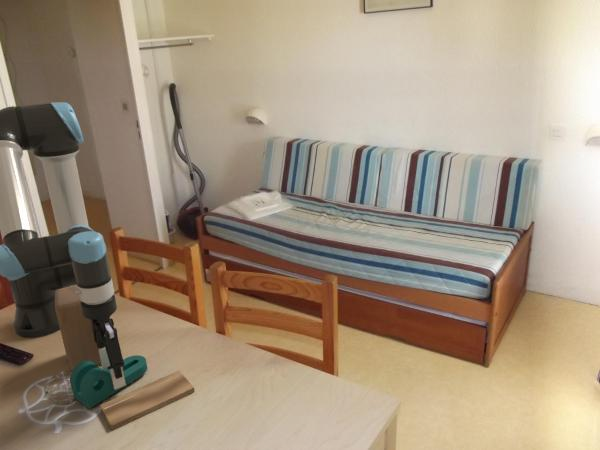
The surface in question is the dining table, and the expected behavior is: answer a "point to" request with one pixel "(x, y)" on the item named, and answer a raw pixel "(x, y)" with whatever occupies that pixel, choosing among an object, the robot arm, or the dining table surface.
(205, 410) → the dining table surface
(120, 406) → the plank
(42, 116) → the robot arm
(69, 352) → the block
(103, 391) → the bracket
